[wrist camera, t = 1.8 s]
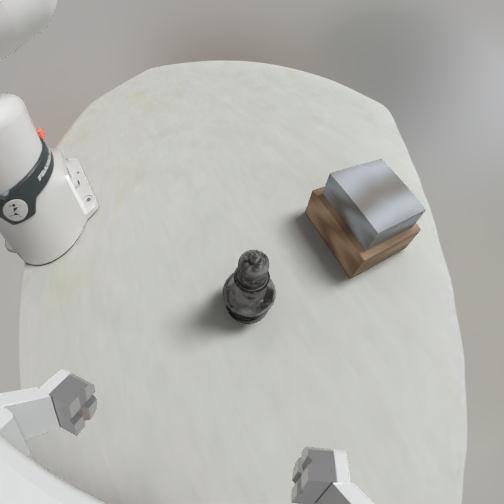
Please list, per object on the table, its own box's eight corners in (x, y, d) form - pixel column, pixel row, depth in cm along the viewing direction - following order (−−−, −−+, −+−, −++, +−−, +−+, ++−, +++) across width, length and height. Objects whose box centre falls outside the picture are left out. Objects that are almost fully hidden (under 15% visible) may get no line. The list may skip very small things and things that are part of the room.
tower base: (305, 212, 44) (319, 169, 36) (362, 192, 47) (381, 153, 40) (350, 278, 39) (377, 243, 31) (405, 247, 42) (434, 213, 35)
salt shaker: (218, 287, 37) (214, 233, 27) (263, 276, 38) (275, 220, 28) (231, 331, 34) (231, 292, 24) (278, 318, 36) (298, 274, 25)
